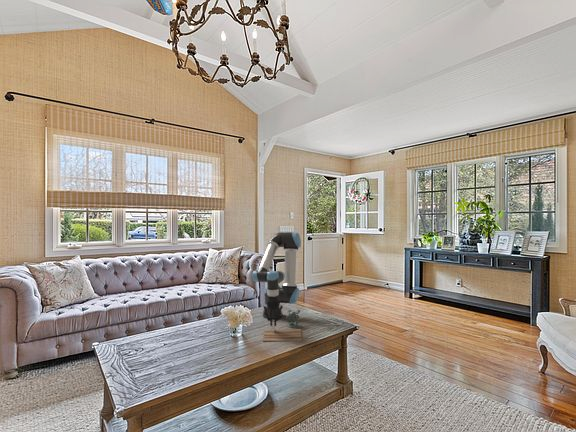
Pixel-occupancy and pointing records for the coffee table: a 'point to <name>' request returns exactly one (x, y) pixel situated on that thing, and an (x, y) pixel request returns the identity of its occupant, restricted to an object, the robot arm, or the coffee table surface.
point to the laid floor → (282, 338)
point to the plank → (282, 332)
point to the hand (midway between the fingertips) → (273, 330)
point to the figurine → (293, 319)
